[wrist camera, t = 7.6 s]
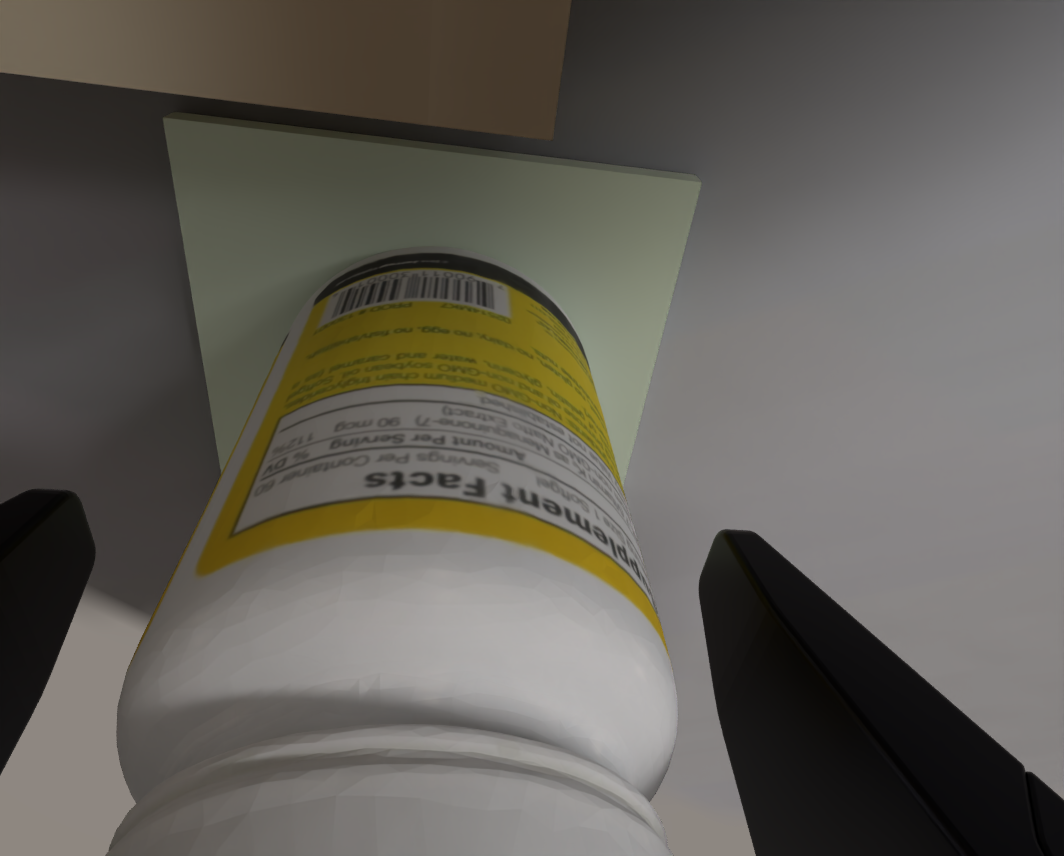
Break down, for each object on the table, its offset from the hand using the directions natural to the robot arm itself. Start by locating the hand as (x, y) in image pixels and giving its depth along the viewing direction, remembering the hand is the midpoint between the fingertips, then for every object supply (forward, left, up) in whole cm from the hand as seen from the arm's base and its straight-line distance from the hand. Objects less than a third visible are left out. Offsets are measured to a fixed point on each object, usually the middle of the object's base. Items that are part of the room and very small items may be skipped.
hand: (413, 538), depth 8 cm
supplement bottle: (0, 0, -4) cm, 4 cm away
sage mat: (0, 0, -4) cm, 4 cm away
